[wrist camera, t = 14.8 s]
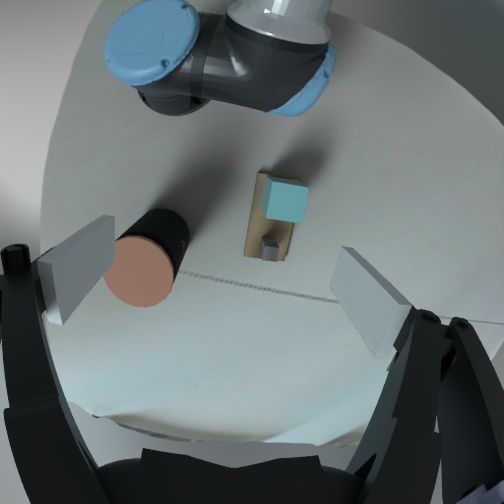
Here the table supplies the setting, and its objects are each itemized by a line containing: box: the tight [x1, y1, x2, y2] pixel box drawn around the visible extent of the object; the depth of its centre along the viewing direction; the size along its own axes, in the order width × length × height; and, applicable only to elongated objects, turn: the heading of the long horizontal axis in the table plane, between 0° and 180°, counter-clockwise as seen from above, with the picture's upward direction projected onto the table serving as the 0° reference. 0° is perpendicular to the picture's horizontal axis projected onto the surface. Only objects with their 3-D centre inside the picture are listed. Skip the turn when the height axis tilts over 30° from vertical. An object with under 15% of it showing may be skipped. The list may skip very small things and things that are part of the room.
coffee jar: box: [103, 209, 189, 307], centre depth 44 cm, size 11×11×18 cm
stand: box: [244, 172, 301, 262], centre depth 48 cm, size 8×16×10 cm, turn 171°
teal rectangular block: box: [260, 176, 309, 224], centre depth 45 cm, size 6×6×9 cm
